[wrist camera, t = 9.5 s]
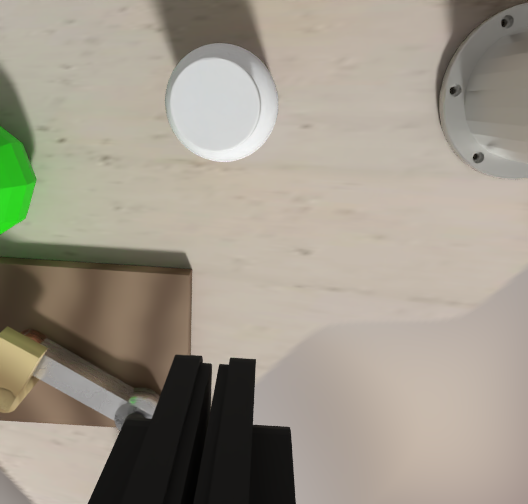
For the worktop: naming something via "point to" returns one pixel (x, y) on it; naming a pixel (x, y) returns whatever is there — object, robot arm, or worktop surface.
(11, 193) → the plastic bottle
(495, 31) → the robot arm
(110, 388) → the aluminium link
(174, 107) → the supplement bottle
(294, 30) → the worktop surface
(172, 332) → the walnut board
